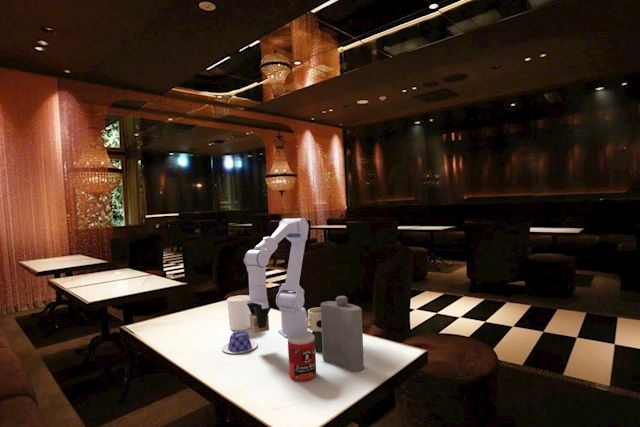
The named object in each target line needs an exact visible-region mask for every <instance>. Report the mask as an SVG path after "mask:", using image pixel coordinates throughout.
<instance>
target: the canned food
mask: <svg viewBox="0 0 640 427" xmlns="http://www.w3.org/2000/svg"><path fill="white" fill-rule="evenodd" d="M287 351H288V368H289V369H288V371H289V372H288V374H289V376H290V377H289V378H290V379H291V380H292V381H294V382H298V383H299V382H301V383H304V382H309V381H311V380H313V379H314V378H315V377H316V374H317V361H316V360H317V358H316V350H315V336H314V335H313V334H312V332H311V333H310V332H308V333H306V332H301V333H295V334H292V335H290V336H289V337H287Z"/></svg>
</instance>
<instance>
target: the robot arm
mask: <svg viewBox="0 0 640 427" xmlns="http://www.w3.org/2000/svg"><path fill="white" fill-rule="evenodd" d="M309 227H310V225H309V223H308V220H307V219H306V218H305V217H297V218H293V217H292V218H287V217H286V218H285V217H284V218H282V220H280V221H279V223H278V227H277V228H276V230H275V231H274V232H273V233H272V235H271V236H264V237H263V238H262V240H261V241H260V242H259V244H257V245H256V246H254V248H253V249H250V250H248V251H247V252H246V253H245V255H244V258H243V263H244V264H245V267H246V271H247V274H248V292H249V294H248V296H249V299H246V302H250V303H247V306H248V307H249V309H250V312H251V314H256V317H257V322H258V327H259V328H264V327H265V326H266V321H267V316H269V312H270V311H271V309H272V307H271V305H269V301H268V296H267V295H268V294H267V293H268V292H267V274H266V272H267V271H266V266H267V265H268V264H269V262H270V259H271V256H272V255H273V253H274V252H276V250H277V249H278V247H279V246H278V245H279V243H280V242H281V241H282V240H283V239H284V238H286V240H288V241H289V242H290V243H291V246H290V252H289V257H288V259H289V260H288V265H287V271H286V277H285V282H284V283H283V284H282V285H281V286H279V289H278V293H276V298H275V304H276V306H277V307H278V309H279V311H280V313H281V314H280V315H281V316H280V317H281V329H278V330H277V331H278V333H280V334H281V335H282V336H283V337H284V338H288V337H289V336H290V335H292V334H295V333H301V332H306V333H309V328H306V327H305V319H306V318H308V312H307V310H306V308H305V307H304V305H305V290H304V288H302V287H301V285H300V280H301V278H300V277H301V273H302V265H303V259H304V253H305V248H306V247H305V246H306V241H307V240H308V234H309Z"/></svg>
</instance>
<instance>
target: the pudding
mask: <svg viewBox="0 0 640 427" xmlns="http://www.w3.org/2000/svg"><path fill="white" fill-rule="evenodd" d="M257 347H258V342H256V341H255V340H251V339H250V336H249V333H248V332H247V331H245V330H240V331H234V332H232V333H231V335H230V337H229V340H228V343H227V344H225V345H223V347H222V348H221V350H222V351H223V352H224V353H227V354H235V353H237V354H243V353H244V354H245V353H248V352H249V351H252V350H254V349H256V348H257Z"/></svg>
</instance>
